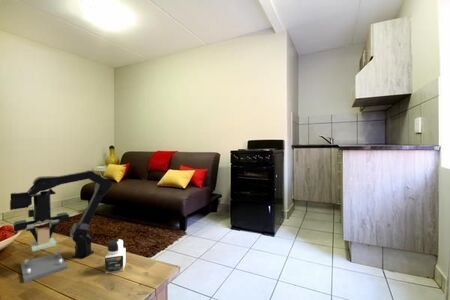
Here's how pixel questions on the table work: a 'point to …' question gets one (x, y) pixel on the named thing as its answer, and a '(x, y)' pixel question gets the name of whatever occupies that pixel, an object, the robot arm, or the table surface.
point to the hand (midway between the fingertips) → (43, 240)
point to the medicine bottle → (115, 256)
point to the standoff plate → (42, 266)
